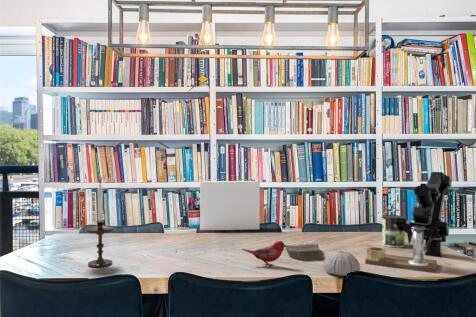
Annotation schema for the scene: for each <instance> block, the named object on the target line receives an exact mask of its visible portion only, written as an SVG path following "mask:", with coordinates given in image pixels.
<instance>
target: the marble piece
mask: <svg viewBox="0 0 476 317" xmlns="http://www.w3.org/2000/svg"><path fill="white" fill-rule="evenodd" d="M286 246H287V247H284V249H285V250H286V252H287V254H288V256H289V257H291V258H292V259H296V260H297V259H298V260H301V261H319V260H321V259H323V251H322V250H321V249H320V247H319V244H318V243H311V244H299V245H298V244H297V245H286Z"/></svg>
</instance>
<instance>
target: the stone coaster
mask: <svg viewBox="0 0 476 317" xmlns="http://www.w3.org/2000/svg"><path fill="white" fill-rule="evenodd" d="M408 263H409V264H410V265H414V266H428V263H427V262H425V261H423V263H422V264H418V263H414V262H413V260H409V261H408Z"/></svg>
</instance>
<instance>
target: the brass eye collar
mask: <svg viewBox="0 0 476 317" xmlns="http://www.w3.org/2000/svg"><path fill="white" fill-rule="evenodd" d="M385 254H386V249H385V248H383V247H377V246H373V247H371V246H369V247H367V248H366V259H369V260H372V261H384V260H385Z"/></svg>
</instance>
